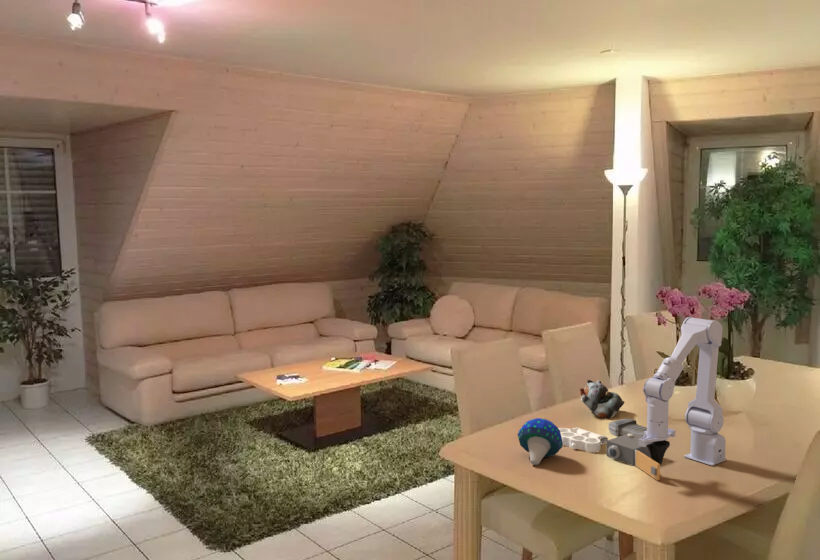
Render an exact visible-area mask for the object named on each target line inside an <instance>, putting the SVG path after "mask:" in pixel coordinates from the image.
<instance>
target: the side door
mask: <svg viewBox="0 0 820 560" xmlns="http://www.w3.org/2000/svg"><path fill="white" fill-rule="evenodd" d="M634 466H635V467H637V468H638V469H640V470H641V471H643V472H645V473H646V474H647V475H649V476H650V477H652V478H653V479H655V480H656V481H660V477H661V473H660V472H661V471H660V470H661V466H660V464H659V463H657V462H656V461H654V460H653V459H651V458H649V457H648V456H646V455H645V454H643V453H641V452H640V451H638V450H635V465H634Z"/></svg>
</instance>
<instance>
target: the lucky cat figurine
mask: <svg viewBox="0 0 820 560" xmlns="http://www.w3.org/2000/svg"><path fill="white" fill-rule="evenodd" d="M579 396H580V401H581V402H582V403H583V404H584V405H585V406H586V407H587V408H588V410H589V411H591V412H592V413H594V415H596V416H597V417H599V418H600V419H608V420H609V419H611V418H613V417H614V416H615V415H617V413H618V411H619V410H620V409H621V408H623V406H624V404H625V401H624V400H623V399H622V397H621V396H620V395H619V394H618V393H616V392H613V391H609V389H608V387H607V386H605V385H604V384H603V383H602V382H601V380H597V381H596V382H594V381H593V380H591V379H587V382H586V385H585V387H583V388H582V387H581V388H579Z"/></svg>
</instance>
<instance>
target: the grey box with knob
mask: <svg viewBox="0 0 820 560" xmlns="http://www.w3.org/2000/svg"><path fill="white" fill-rule="evenodd" d="M642 437H643V436H639V435H636V434H633V433H630V434H626V435H623V436H619V437H617V436H616V437H614V438H611V439H608V440H607V443H606V457H607V458H611V459H613V460H616V461H620V462H621V463H624V462H625V464H628V465H630V466H633V467H634V466H635V450H638V451H640V452H641V453H643V454H645V455H646V456H648V457H649V458H651V455H650V452H649V450H648V448H647V446H646V447H642V446H639V439H640V438H642Z"/></svg>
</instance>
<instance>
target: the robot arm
mask: <svg viewBox="0 0 820 560" xmlns="http://www.w3.org/2000/svg"><path fill="white" fill-rule="evenodd" d="M723 330H724V329H723V326H722V324H721V323H720V321H719V320H715V319H714V320H712V319H704V318H700V317H699V318H697V317H692V316H688V317H686V318H685V319H684V321H683V322H682V325H681V327H680V333H681V334H680V335H681V336H680V337H679V338H678V339H679V340H678V342H677V343H676V345H675V347H674V349H673V351H672V353H671V355H670V356H669V357H665V358H664V359H663V360H662V362H661V364H660V365H659V367H658V369H657V370H656V372H655V373H654V375H653V377H650V378H647V379H646V381H645V382H644V384H643V387H642V392H643V395H644V396H645V402H646V403H647V406H646V408H647V411H646V413H647V414H646V427H647V431H644V434H645V435H644V436H643V437H642V438H640V439H639V446H642V447H646V446H647V448H648V450H649V452H650V455H651V459H653V460H654V461H656V462H657V463H659V464H660V467H661V466H662V463H663V459H664V456H665V453H666V452H667V450H668V448H669V447H670V445H671V444H670V441H669V440H668V439H670V438H671V437H672V438H675V437H676V429H673V428H669V404H670V403H669V402H670V399H672V397H673V394H674V391H675V390H674V389H675V387H676V381H677V379H678V378H679V377H680V374H681V373H682V371H683V370H684V366H683V362H684V361H685V360H686V358H688V355H689V354H690V353H691V351H692V350H693V349H694V348H695V346H698V348H699V355H698V369H697V377H696V378H697V381H696V392H695V398H694V399H692V400H690V401H689V402H688V404H687V409H686V411H685V413H684V414H685V415H684V420H685V423H686V424H687V425H688V429H690V453H687V454H684V457H685V458H686V459H690V460H691V461H692V460H693V461H697V462H700V463H702V464H706V465H709V466H715V465H717V464H720V463H723V462H725V461H727V458H726V444H727V443H726V437H725V435H722V434H720V433H719V432H720V431H721V430H722V428H723V427H724V416H723V407H722V406H721V405H720V404H719V403H718V402H717V401H716V400H715V395H716V394H715V393H716V383H717V382H716V381H717V369H718V359H719V348H720V347H721V346H722V341H723Z"/></svg>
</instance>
